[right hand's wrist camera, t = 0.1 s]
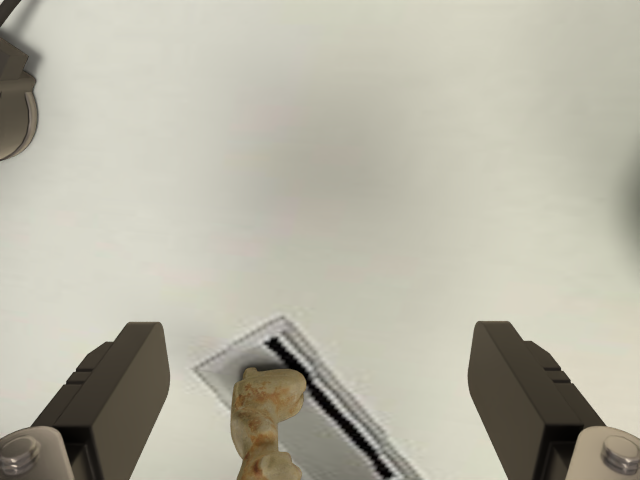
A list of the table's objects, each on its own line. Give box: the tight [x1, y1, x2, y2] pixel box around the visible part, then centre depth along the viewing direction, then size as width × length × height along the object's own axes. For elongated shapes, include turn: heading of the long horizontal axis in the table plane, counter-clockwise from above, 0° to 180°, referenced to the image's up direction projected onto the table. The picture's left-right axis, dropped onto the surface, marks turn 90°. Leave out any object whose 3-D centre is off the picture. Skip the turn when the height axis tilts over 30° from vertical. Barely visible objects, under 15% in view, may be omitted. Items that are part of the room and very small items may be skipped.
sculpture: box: [231, 367, 306, 480], centre depth 41 cm, size 6×7×15 cm
